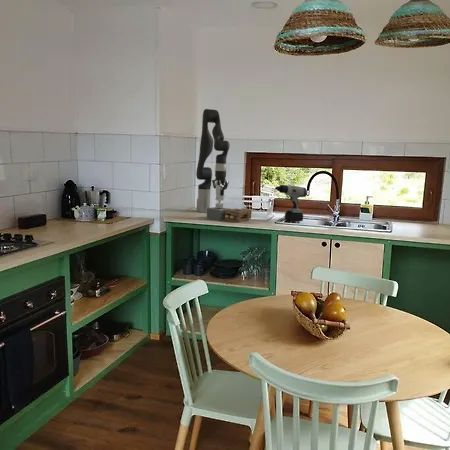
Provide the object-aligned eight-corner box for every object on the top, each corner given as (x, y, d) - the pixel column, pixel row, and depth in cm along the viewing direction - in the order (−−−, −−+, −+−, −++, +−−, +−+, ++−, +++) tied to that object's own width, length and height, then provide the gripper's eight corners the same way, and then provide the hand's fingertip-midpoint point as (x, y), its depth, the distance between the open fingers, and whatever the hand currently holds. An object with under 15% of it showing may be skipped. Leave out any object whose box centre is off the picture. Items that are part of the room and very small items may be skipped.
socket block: (235, 218, 336) (236, 208, 335) (249, 220, 328) (249, 210, 327) (224, 220, 327) (224, 209, 326) (238, 222, 319) (238, 212, 318)
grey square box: (206, 218, 332) (206, 208, 331) (218, 216, 341) (218, 206, 340) (219, 220, 324) (219, 210, 323) (231, 218, 333) (231, 208, 332)
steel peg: (215, 206, 331) (216, 185, 329) (219, 206, 334) (219, 185, 331) (219, 207, 329) (220, 185, 326) (223, 207, 332) (223, 185, 329)
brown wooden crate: (242, 216, 338) (242, 208, 337) (251, 218, 333) (251, 209, 332) (224, 219, 323) (224, 210, 322) (233, 221, 318) (233, 212, 317)
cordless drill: (271, 219, 336) (273, 184, 332) (300, 218, 346) (302, 184, 342) (276, 221, 329) (279, 185, 325) (306, 220, 340) (309, 185, 335)
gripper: (232, 170, 325) (231, 196, 328) (216, 169, 334) (215, 194, 337) (225, 171, 320) (223, 196, 323) (209, 169, 329) (208, 194, 332)
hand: (219, 195), depth 330 cm, fingers closed on steel peg, 3 cm apart
